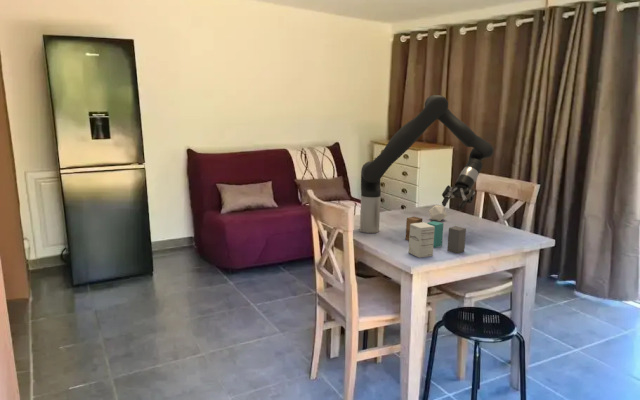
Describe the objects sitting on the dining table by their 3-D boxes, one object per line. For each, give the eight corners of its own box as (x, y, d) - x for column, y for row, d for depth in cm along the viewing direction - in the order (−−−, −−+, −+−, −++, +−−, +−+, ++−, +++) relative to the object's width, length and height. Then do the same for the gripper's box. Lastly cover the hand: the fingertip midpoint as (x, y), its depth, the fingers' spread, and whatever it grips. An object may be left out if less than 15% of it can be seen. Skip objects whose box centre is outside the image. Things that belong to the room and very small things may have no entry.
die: (449, 222, 260) (445, 205, 264) (445, 217, 253) (441, 200, 257) (434, 225, 263) (430, 209, 267) (429, 221, 256) (426, 204, 260)
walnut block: (414, 241, 221) (415, 220, 219) (405, 239, 225) (406, 218, 222) (421, 239, 224) (422, 218, 222) (412, 237, 228) (413, 216, 226)
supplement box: (407, 252, 205) (409, 223, 202) (422, 250, 208) (424, 221, 206) (418, 258, 199) (420, 227, 196) (433, 256, 202) (435, 226, 199)
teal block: (435, 247, 213) (436, 225, 211) (425, 245, 217) (427, 222, 215) (441, 245, 216) (443, 223, 214) (432, 242, 220) (433, 221, 218)
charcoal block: (457, 253, 205) (459, 230, 203) (447, 250, 209) (448, 228, 207) (464, 251, 208) (466, 228, 206) (453, 248, 212) (455, 226, 210)
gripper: (450, 172, 229) (434, 199, 224) (478, 175, 219) (462, 204, 214) (456, 182, 234) (441, 209, 228) (483, 186, 223) (468, 214, 218)
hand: (451, 207), depth 221 cm, fingers open, 8 cm apart
